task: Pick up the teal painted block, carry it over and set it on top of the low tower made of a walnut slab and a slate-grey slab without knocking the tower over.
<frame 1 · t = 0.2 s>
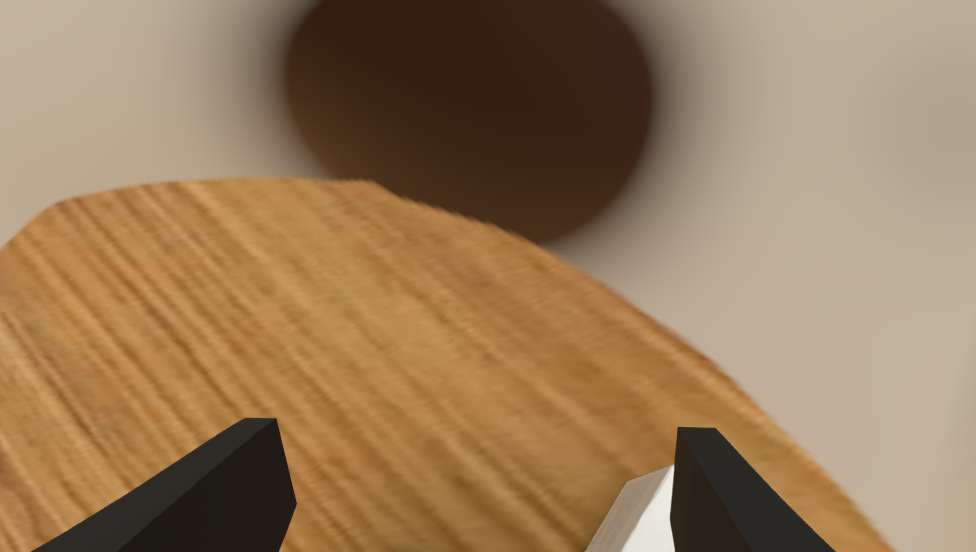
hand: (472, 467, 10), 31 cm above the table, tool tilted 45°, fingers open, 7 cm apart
skincare box: (631, 536, 37), on the table
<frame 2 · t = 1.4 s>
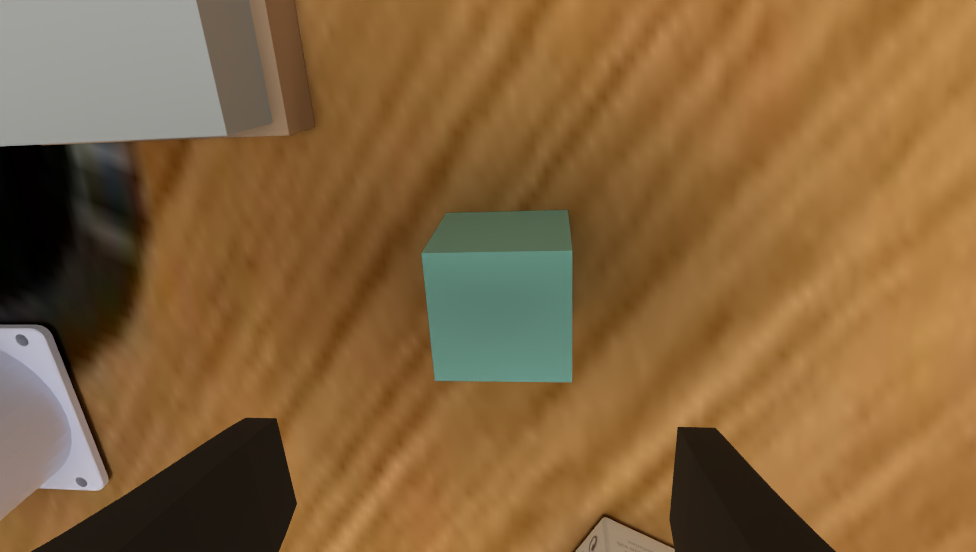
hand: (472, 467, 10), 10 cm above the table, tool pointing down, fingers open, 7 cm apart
teal block: (509, 267, 19), on the table
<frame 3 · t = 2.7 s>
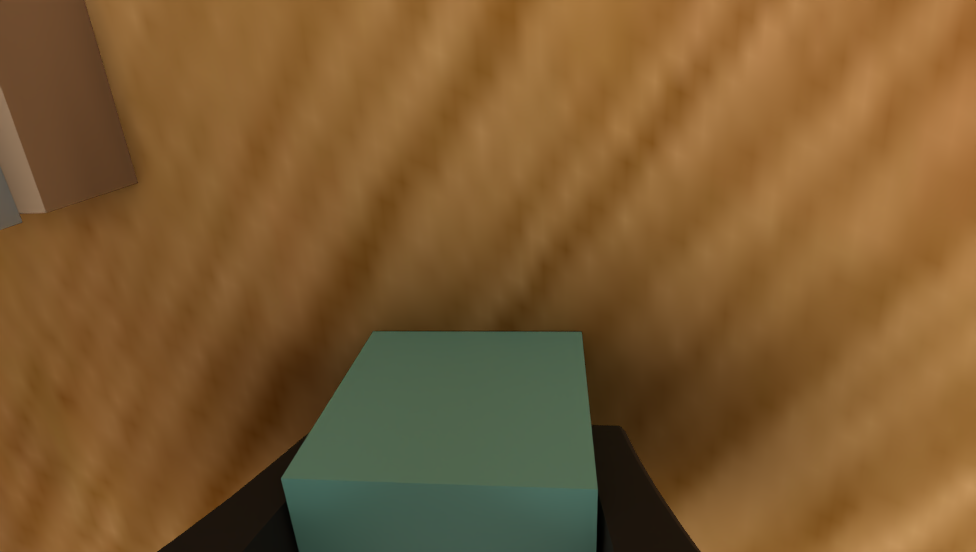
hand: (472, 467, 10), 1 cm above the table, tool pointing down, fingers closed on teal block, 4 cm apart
teal block: (481, 418, 11), on the table, touching gripper
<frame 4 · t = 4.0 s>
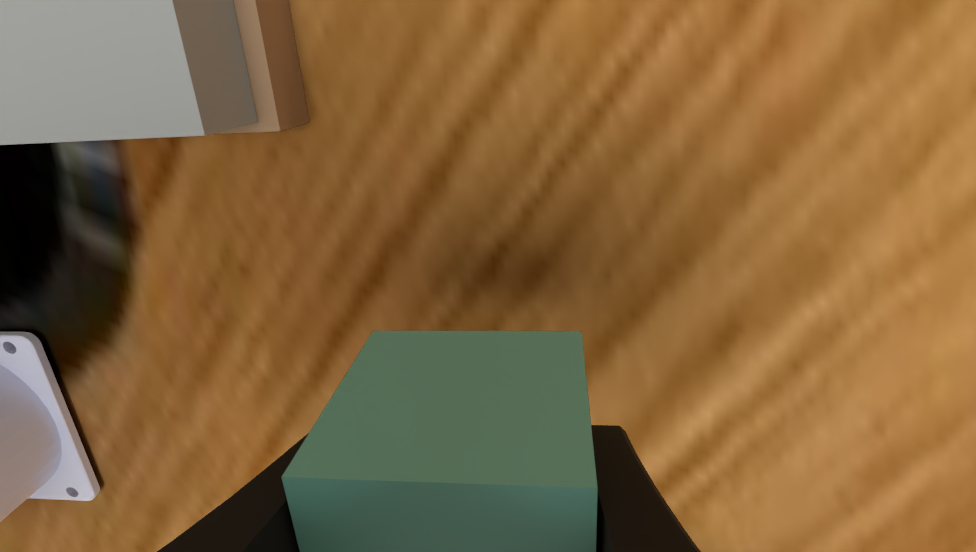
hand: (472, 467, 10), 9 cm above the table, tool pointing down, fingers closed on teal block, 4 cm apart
teal block: (481, 417, 11), point 8 cm above the table, touching gripper
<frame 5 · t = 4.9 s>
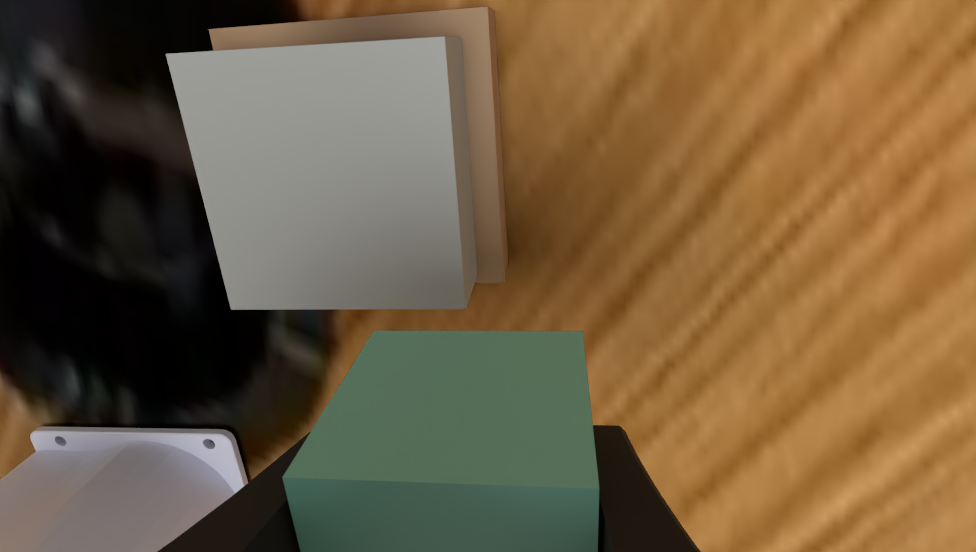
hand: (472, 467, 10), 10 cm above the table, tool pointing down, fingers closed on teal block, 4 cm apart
tower top: (356, 169, 17), point 2 cm above the table, touching tower base
teal block: (482, 418, 11), point 9 cm above the table, touching gripper
tower base: (387, 149, 19), on the table, touching tower top
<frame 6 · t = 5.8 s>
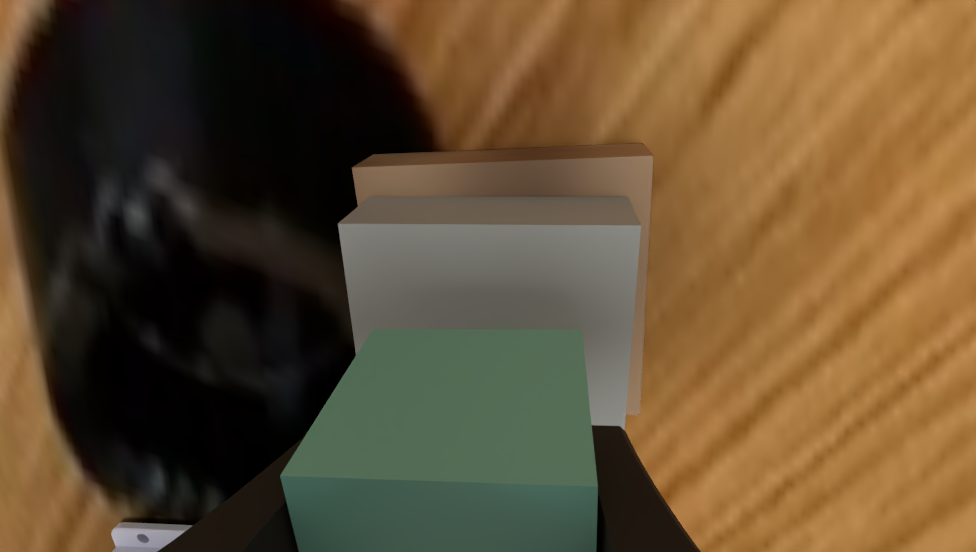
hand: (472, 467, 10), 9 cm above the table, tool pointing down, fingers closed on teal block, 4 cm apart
tower top: (498, 312, 16), point 2 cm above the table, touching tower base
teal block: (481, 416, 11), point 7 cm above the table, touching gripper
tower base: (510, 267, 19), on the table, touching tower top
when the fingers open (7 cm above the table, at t = 6.5 s): teal block drops 2 cm, resting on tower top.
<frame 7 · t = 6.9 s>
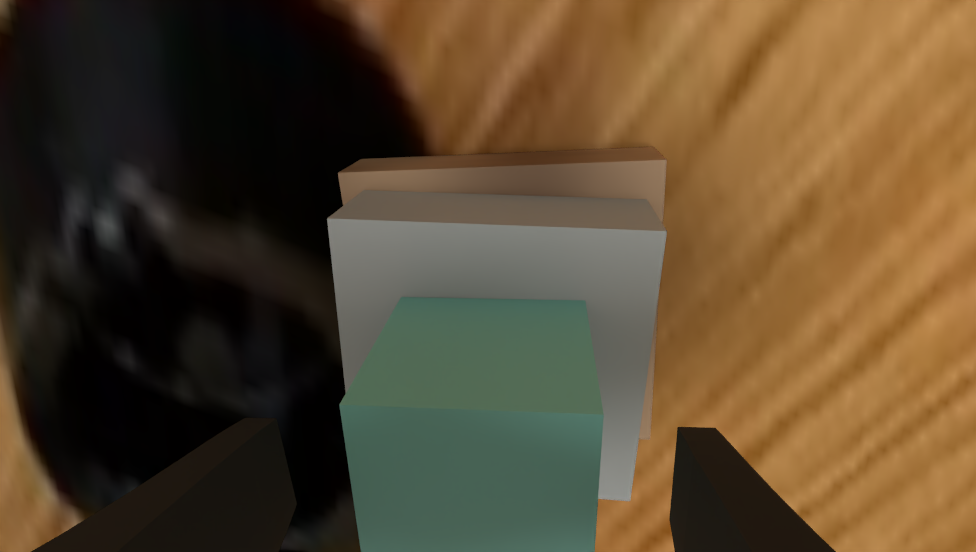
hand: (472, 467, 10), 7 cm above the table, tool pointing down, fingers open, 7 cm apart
tower top: (499, 321, 15), point 2 cm above the table, touching teal block, tower base
teal block: (493, 377, 13), point 4 cm above the table, touching tower top
tower base: (510, 279, 17), on the table, touching tower top
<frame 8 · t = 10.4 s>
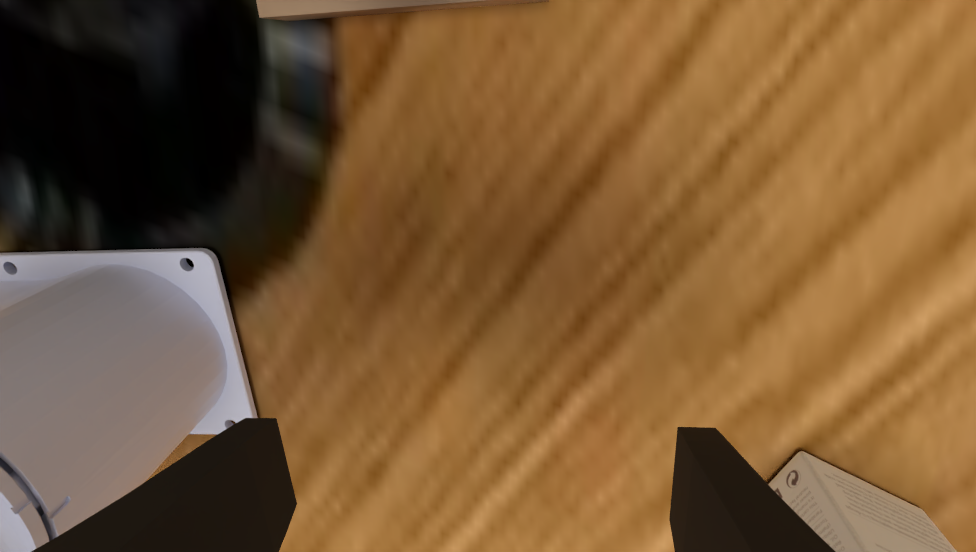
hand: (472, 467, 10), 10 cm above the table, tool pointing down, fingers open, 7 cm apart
skincare box: (824, 509, 23), on the table
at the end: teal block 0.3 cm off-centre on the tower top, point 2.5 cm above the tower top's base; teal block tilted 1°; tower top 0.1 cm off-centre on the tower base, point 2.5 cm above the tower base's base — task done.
